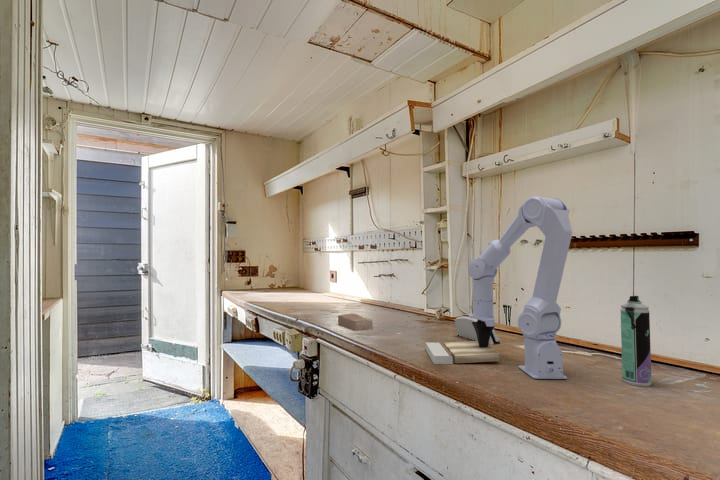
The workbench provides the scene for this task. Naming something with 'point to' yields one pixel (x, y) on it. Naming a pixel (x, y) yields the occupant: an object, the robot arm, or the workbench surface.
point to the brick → (355, 322)
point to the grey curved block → (471, 329)
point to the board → (439, 353)
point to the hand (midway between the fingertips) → (483, 347)
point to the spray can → (635, 343)
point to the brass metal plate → (471, 352)
